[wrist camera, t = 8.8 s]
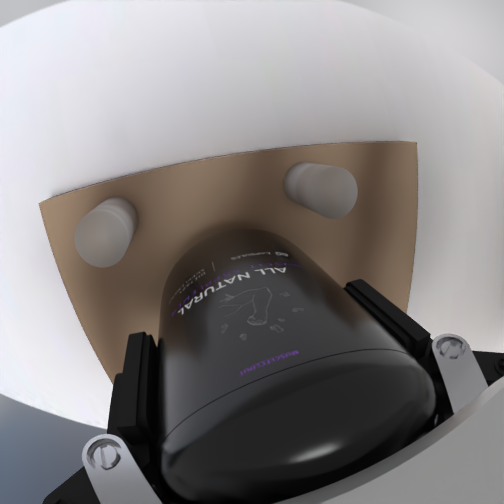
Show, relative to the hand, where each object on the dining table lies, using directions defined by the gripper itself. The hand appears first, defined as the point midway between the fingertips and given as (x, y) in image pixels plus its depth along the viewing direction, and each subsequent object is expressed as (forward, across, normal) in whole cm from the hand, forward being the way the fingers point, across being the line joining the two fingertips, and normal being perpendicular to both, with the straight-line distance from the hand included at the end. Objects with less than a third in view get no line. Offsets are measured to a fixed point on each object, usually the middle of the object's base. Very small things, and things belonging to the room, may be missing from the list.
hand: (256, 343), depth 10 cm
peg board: (+6, -2, 0) cm, 6 cm away
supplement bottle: (+3, 0, 0) cm, 3 cm away
